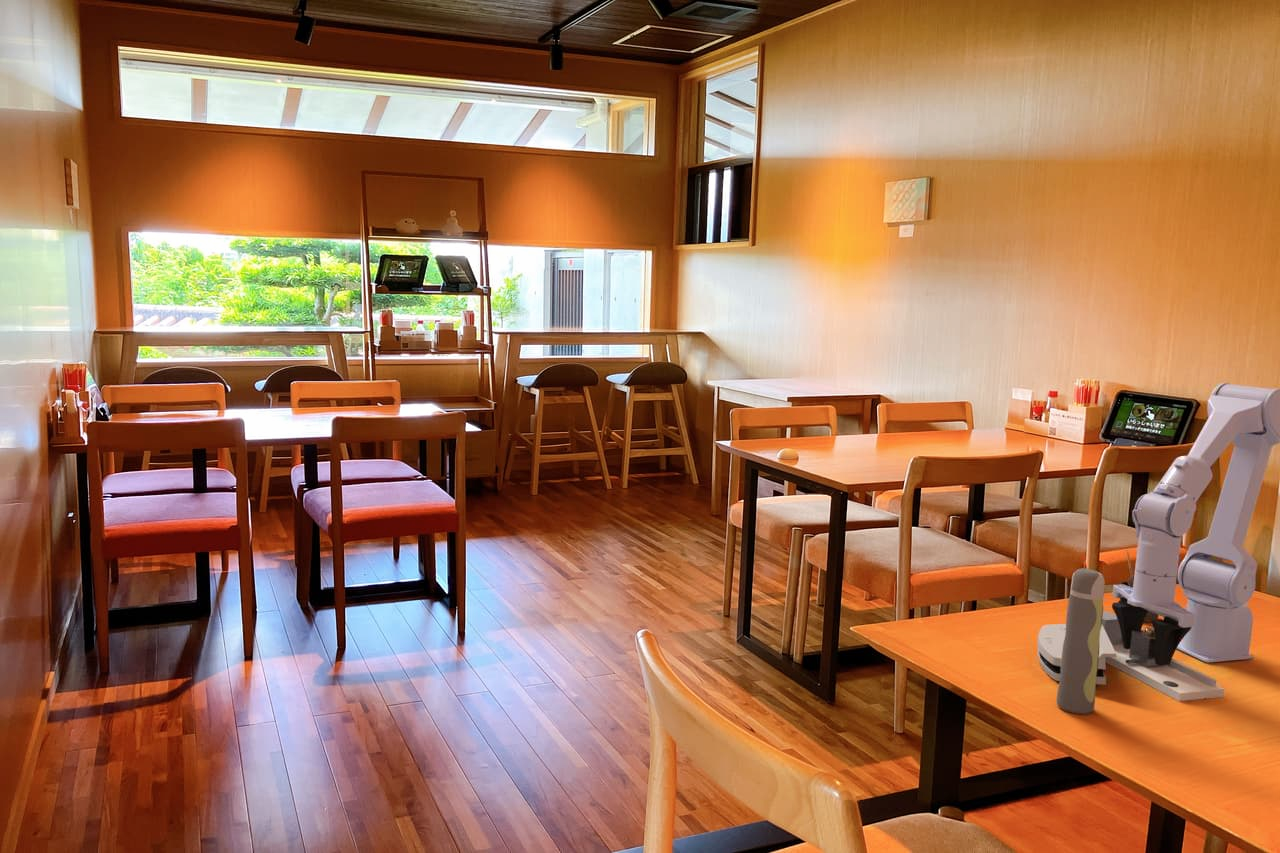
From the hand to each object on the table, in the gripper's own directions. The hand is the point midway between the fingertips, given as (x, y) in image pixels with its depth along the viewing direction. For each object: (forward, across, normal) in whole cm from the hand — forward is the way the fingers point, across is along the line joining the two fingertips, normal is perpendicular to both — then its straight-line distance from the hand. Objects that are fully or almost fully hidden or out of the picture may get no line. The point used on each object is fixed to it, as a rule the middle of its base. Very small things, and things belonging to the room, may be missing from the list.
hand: (1146, 656), depth 154 cm
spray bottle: (+2, +10, -21) cm, 23 cm away
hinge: (0, -1, -8) cm, 8 cm away
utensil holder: (+2, -21, +18) cm, 28 cm away
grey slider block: (+1, 0, 0) cm, 1 cm away
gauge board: (+2, 0, 0) cm, 2 cm away
